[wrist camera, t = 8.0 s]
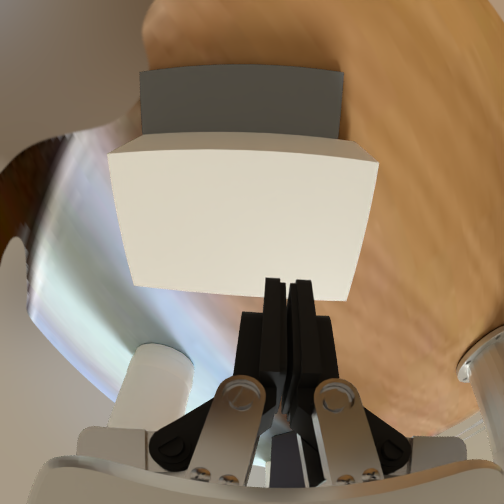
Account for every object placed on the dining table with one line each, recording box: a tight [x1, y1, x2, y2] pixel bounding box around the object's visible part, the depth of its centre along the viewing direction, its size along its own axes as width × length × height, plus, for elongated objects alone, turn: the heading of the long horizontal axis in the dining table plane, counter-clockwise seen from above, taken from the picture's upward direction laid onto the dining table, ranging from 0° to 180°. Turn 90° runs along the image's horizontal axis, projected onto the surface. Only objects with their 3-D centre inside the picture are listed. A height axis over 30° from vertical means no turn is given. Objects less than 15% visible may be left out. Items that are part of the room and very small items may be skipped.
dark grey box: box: [269, 431, 306, 488], centre depth 37 cm, size 11×4×15 cm, turn 132°
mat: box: [140, 64, 344, 139], centre depth 20 cm, size 13×18×1 cm
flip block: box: [107, 132, 379, 301], centre depth 18 cm, size 5×9×14 cm
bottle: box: [107, 343, 194, 431], centre depth 20 cm, size 8×8×30 cm
